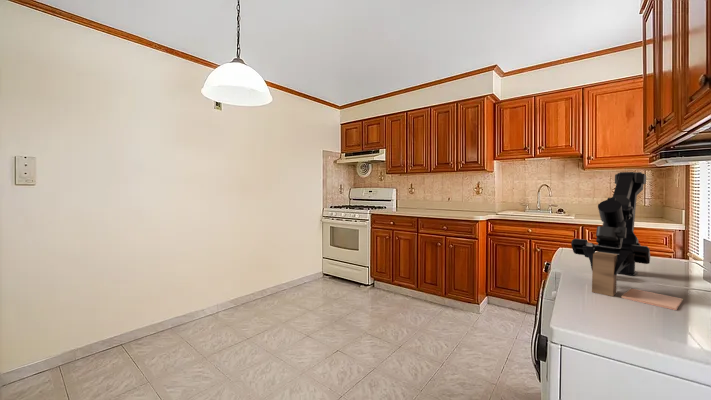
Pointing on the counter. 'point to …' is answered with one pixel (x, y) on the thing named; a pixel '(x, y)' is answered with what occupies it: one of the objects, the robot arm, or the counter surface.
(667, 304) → the terracotta tile
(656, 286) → the counter surface
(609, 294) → the walnut block
